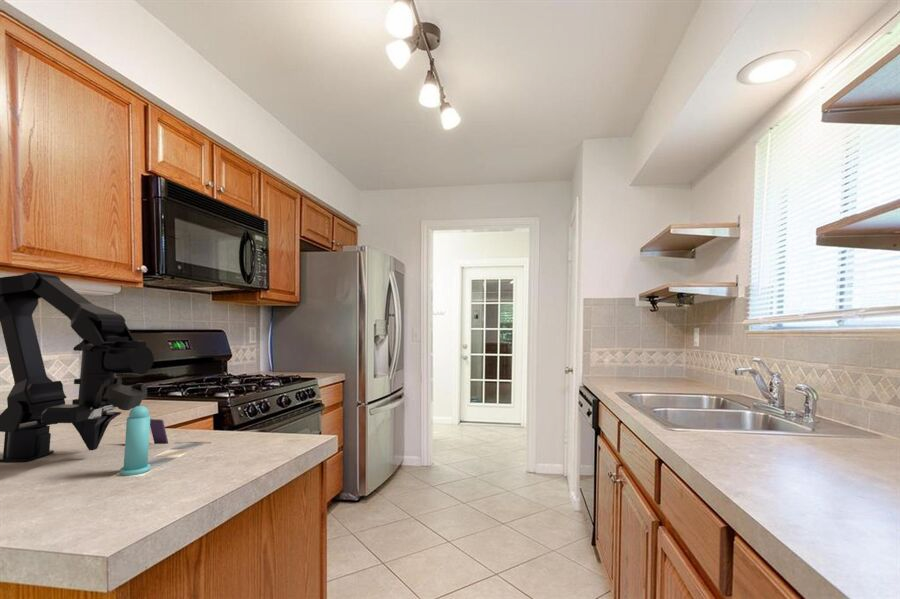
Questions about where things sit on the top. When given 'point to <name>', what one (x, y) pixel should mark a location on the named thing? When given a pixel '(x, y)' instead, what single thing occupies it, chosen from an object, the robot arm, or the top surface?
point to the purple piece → (158, 431)
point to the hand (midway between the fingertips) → (92, 449)
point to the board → (168, 454)
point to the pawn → (136, 442)
